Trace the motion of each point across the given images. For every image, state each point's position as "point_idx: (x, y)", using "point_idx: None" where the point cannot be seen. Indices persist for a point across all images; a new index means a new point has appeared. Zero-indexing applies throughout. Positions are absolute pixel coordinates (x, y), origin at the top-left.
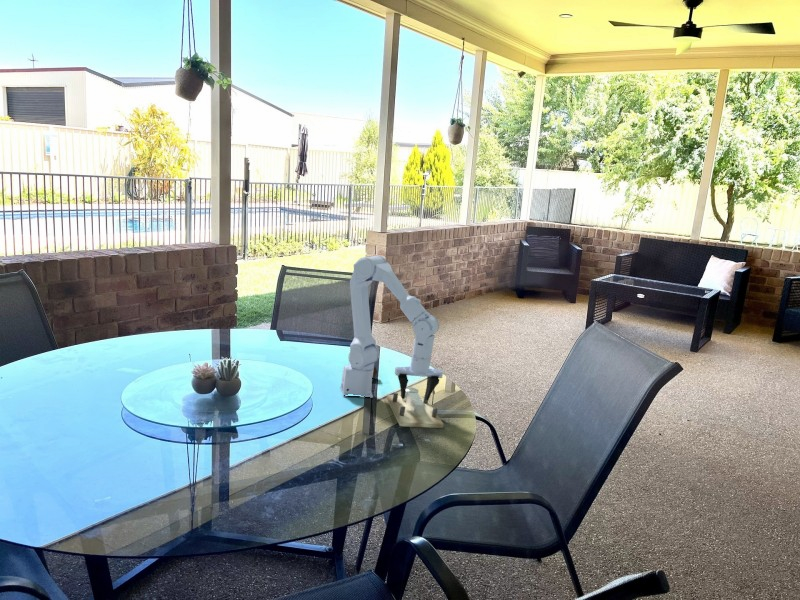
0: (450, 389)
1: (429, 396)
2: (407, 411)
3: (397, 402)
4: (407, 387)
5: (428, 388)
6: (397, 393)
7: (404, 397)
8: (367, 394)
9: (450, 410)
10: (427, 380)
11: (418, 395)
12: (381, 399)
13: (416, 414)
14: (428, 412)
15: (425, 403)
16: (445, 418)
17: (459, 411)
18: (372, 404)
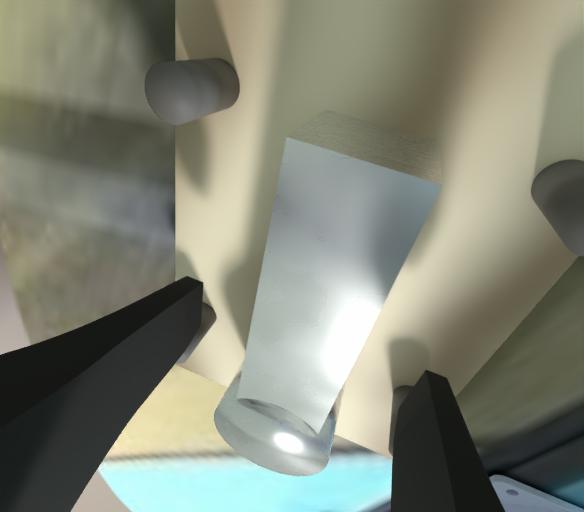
0: None
1: (158, 292)
2: (426, 241)
3: (402, 378)
4: (276, 467)
5: (117, 382)
6: (391, 450)
7: (431, 381)
8: (518, 508)
9: (77, 212)
10: (73, 497)
11: (249, 361)
12: None
13: (400, 134)
14: (238, 178)
15: (206, 305)
16: (128, 101)
17: (29, 186)
18: (576, 430)
